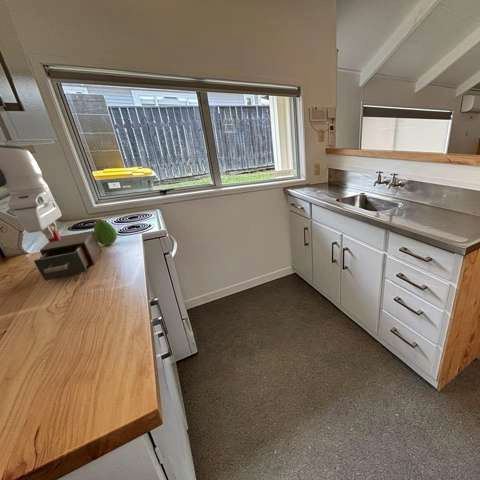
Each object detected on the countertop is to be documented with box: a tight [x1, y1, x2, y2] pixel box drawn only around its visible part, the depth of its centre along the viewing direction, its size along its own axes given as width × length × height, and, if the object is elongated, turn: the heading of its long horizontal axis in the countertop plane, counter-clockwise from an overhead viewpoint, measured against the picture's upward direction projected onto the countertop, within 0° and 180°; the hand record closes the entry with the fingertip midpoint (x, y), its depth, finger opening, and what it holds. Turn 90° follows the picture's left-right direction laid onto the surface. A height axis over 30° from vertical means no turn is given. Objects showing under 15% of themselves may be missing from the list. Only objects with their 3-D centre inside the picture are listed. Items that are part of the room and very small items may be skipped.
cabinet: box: [39, 230, 103, 267], centre depth 101 cm, size 15×13×10 cm
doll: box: [47, 226, 61, 242], centre depth 88 cm, size 3×2×6 cm
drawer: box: [33, 245, 90, 282], centre depth 93 cm, size 18×11×8 cm, turn 29°
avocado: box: [93, 219, 118, 246], centre depth 117 cm, size 8×8×12 cm
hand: (53, 236), depth 89 cm, fingers closed on doll, 2 cm apart
